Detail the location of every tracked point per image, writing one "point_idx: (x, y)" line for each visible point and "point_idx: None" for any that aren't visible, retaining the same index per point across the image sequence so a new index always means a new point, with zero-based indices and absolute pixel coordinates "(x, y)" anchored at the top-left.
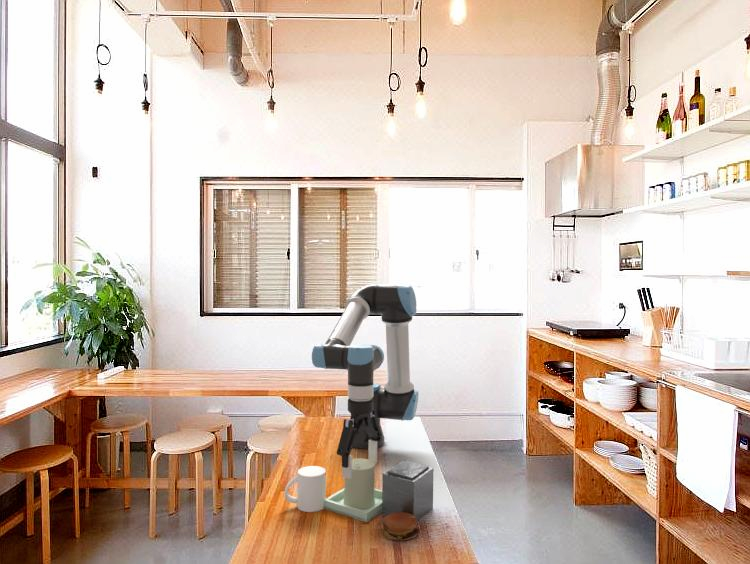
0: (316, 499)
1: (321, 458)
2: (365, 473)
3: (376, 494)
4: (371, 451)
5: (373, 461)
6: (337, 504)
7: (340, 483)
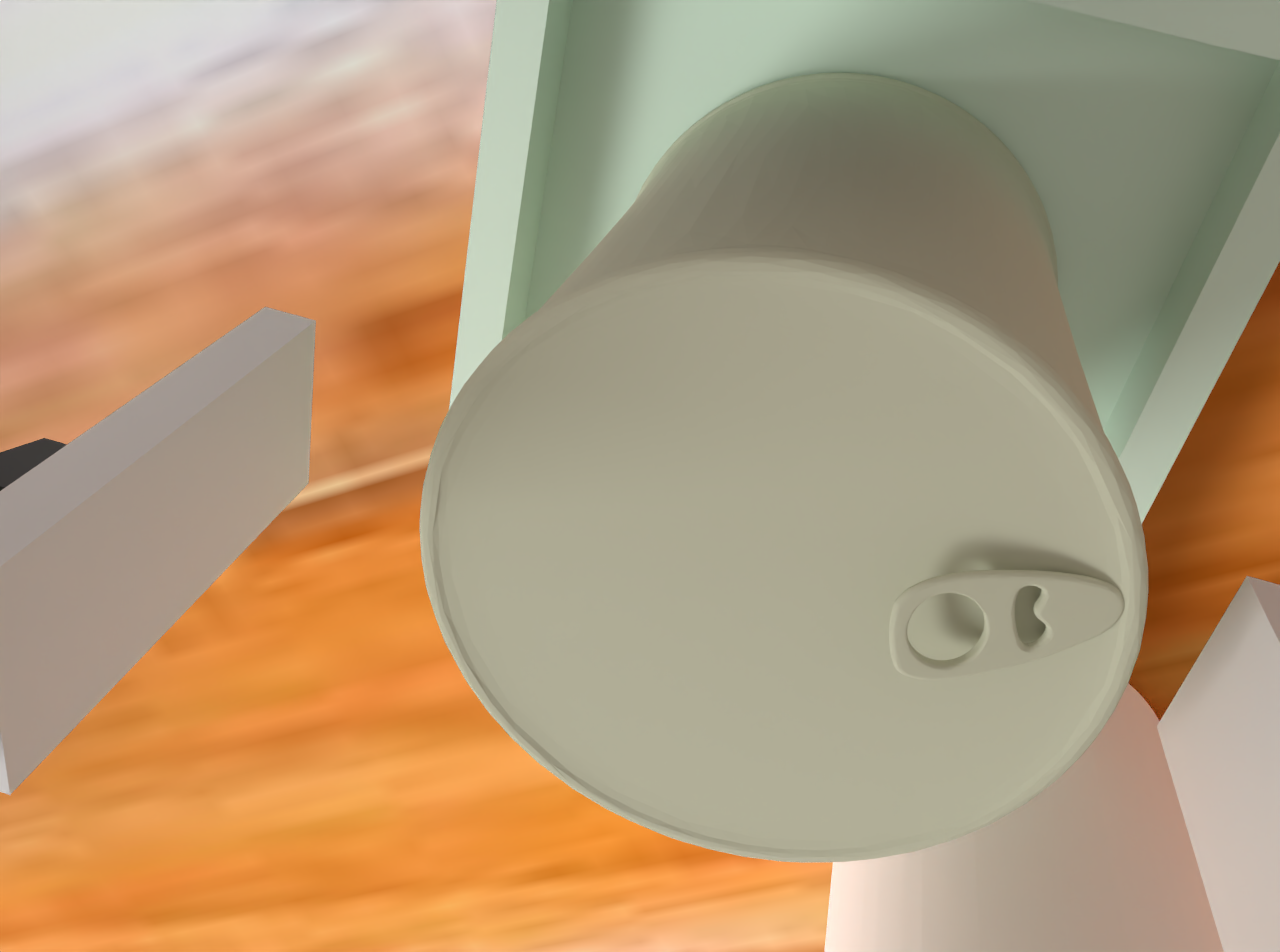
0: (1158, 785)
1: (19, 893)
2: (1053, 359)
3: (545, 140)
4: (186, 536)
5: (303, 384)
6: None
7: (383, 633)
